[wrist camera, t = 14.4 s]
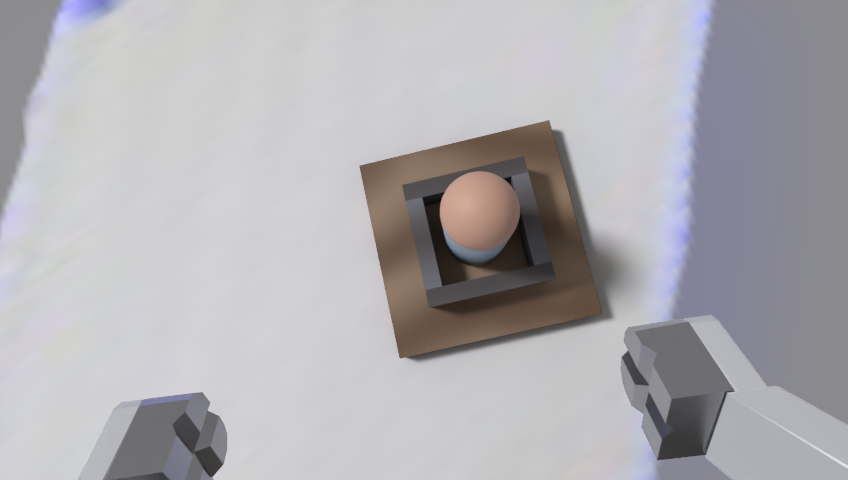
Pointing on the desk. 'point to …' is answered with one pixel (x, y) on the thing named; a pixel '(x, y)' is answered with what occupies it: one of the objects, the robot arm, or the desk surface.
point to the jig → (488, 284)
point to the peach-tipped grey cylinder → (478, 217)
